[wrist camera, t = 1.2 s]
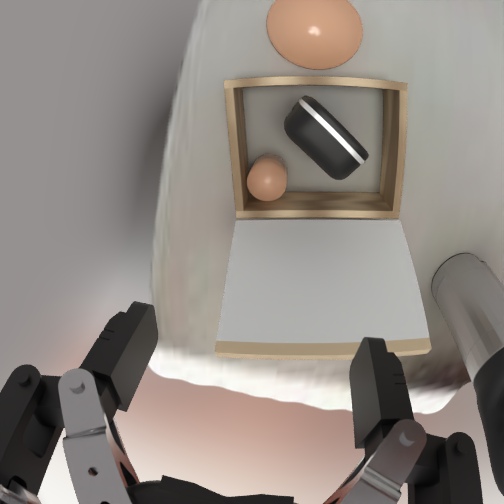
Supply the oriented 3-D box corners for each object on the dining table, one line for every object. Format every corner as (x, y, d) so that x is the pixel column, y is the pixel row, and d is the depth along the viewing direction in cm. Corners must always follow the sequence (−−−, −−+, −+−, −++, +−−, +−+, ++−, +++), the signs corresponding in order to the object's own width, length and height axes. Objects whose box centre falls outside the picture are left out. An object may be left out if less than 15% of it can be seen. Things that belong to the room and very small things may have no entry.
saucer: (356, -9, 22) (358, -11, 21) (363, 71, 27) (365, 71, 26) (264, -11, 23) (263, -13, 23) (270, 70, 28) (270, 69, 28)
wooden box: (389, 82, 27) (407, 83, 22) (384, 199, 34) (398, 218, 29) (234, 81, 29) (223, 80, 25) (243, 199, 36) (236, 218, 32)
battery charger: (280, 117, 31) (275, 131, 21) (303, 92, 29) (311, 95, 20) (325, 159, 33) (341, 193, 23) (349, 137, 31) (376, 161, 21)
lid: (431, 348, 20) (426, 353, 21) (400, 220, 29) (397, 227, 30) (214, 352, 23) (217, 356, 23) (235, 220, 31) (237, 227, 32)
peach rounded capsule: (286, 153, 33) (286, 163, 29) (287, 187, 35) (287, 201, 31) (250, 154, 34) (245, 164, 30) (253, 187, 36) (248, 201, 32)
